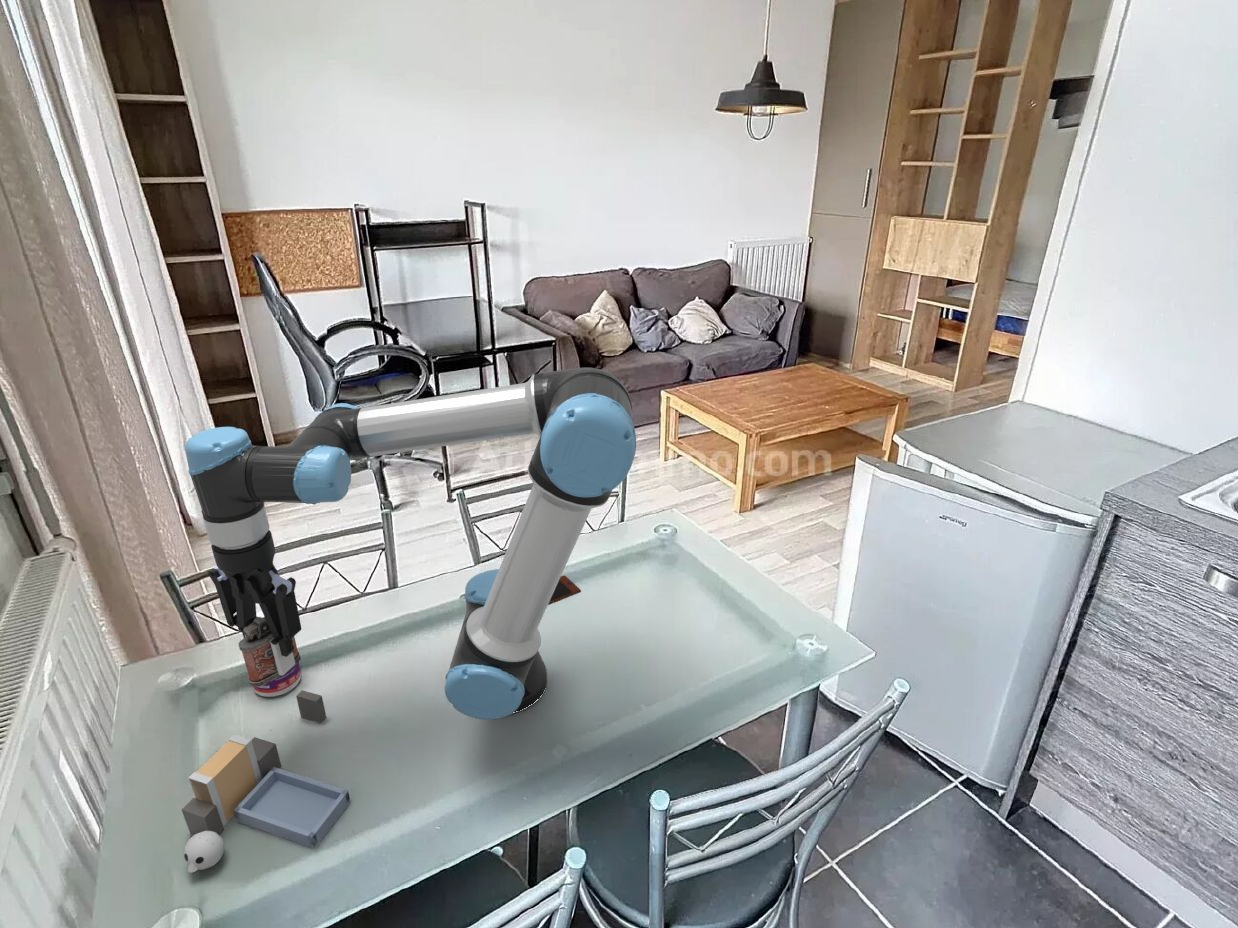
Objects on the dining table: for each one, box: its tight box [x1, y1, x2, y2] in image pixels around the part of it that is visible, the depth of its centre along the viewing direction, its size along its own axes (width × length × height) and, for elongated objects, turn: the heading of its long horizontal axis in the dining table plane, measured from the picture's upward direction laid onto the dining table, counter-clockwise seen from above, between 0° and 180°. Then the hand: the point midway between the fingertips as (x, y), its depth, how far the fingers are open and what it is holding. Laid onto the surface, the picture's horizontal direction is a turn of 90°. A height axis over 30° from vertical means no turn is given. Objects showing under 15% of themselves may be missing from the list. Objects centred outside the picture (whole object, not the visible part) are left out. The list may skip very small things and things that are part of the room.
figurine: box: [183, 831, 225, 873], centre depth 92 cm, size 5×5×5 cm
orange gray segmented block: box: [181, 689, 327, 836], centre depth 104 cm, size 4×24×9 cm, turn 163°
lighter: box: [238, 617, 302, 688], centre depth 103 cm, size 8×3×10 cm, turn 148°
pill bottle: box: [240, 610, 302, 698], centre depth 120 cm, size 8×8×14 cm
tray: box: [234, 767, 351, 849], centre depth 100 cm, size 13×8×2 cm, turn 73°
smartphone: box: [548, 575, 582, 606], centre depth 149 cm, size 7×1×15 cm
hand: (274, 665), depth 105 cm, fingers closed on lighter, 4 cm apart
